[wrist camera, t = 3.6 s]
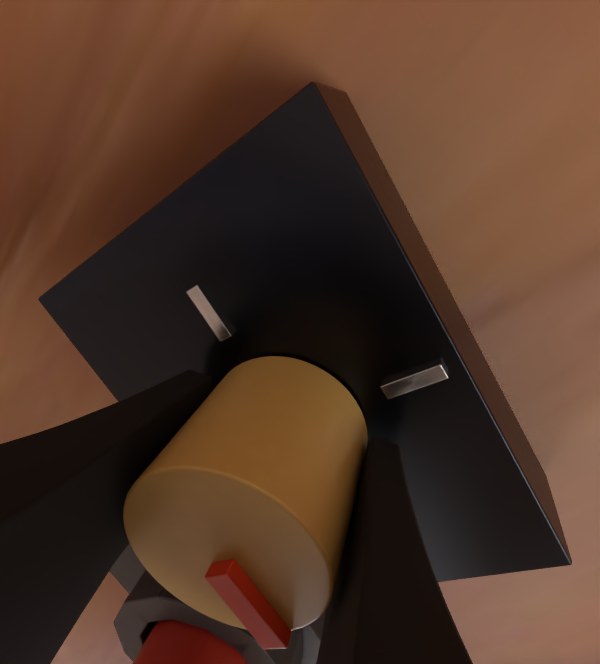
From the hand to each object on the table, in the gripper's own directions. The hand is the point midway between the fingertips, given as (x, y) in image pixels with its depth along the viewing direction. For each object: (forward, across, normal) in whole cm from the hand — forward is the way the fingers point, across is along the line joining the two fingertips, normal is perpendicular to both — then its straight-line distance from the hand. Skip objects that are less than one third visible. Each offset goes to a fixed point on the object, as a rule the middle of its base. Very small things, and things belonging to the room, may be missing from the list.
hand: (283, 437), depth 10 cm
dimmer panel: (+3, 0, 0) cm, 3 cm away
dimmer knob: (0, 0, 0) cm, 0 cm away
